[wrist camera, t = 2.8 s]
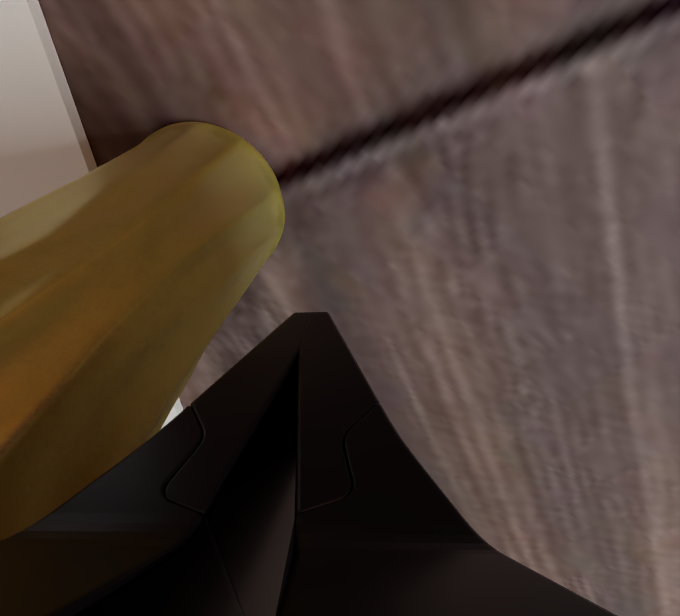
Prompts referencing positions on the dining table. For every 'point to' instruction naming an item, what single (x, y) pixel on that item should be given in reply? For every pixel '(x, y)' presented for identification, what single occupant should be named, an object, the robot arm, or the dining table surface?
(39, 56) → the mat
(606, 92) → the dining table surface
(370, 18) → the dining table surface
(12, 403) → the vase
